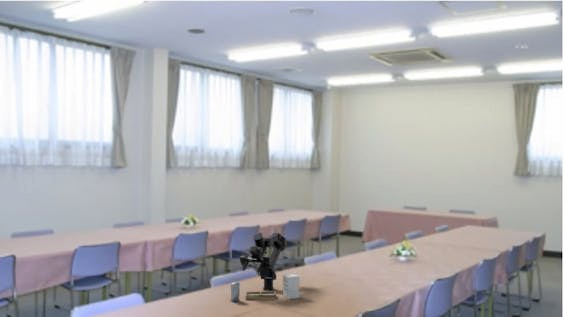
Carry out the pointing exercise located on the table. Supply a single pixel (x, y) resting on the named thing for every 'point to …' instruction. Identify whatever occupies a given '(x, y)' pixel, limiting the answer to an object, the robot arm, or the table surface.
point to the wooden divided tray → (260, 295)
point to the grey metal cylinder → (235, 291)
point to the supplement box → (291, 286)
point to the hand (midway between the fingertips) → (250, 271)
